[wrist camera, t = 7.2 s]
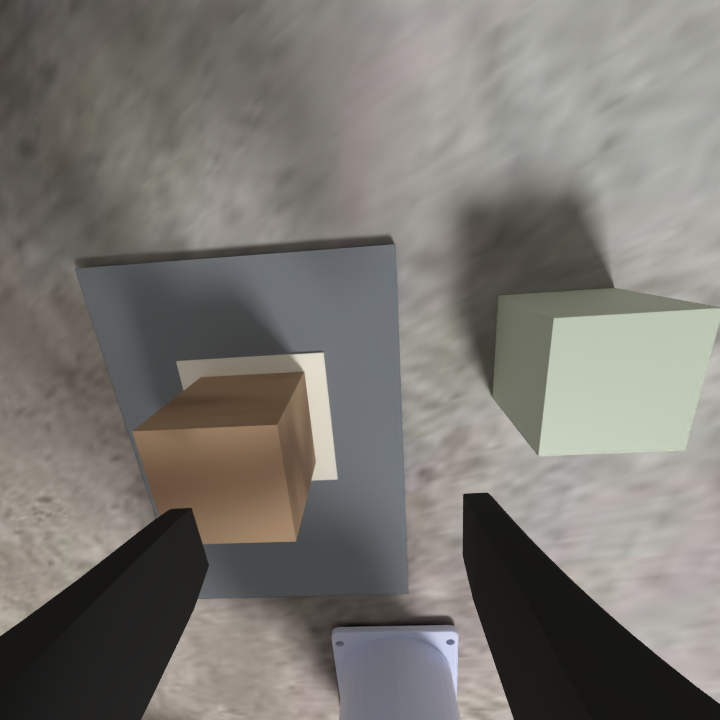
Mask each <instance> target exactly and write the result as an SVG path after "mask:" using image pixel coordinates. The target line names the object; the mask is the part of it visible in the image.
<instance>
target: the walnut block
mask: <svg viewBox="0 0 720 720" xmlns="http://www.w3.org/2000/svg"><path fill="white" fill-rule="evenodd" d="M132 432H133V436H134V439H135V442H136V445H137V448H138V451H139V455H140V458H141V461H142V464H143V467H144V470H145V474H146V477H147V480H148V483H149V486H150V489H151V492H152V496H153V499H154V502H155V505H156V508H157V511H158V515H159V516H161V515H162V514H163V513H165V512H166V511H168V510H169V509H178V508H192V510H193V514H194V517H195V520H196V524H197V527H198V530H199V534H200V537H201V540H202V543H203V544H225V543H261V542H296V540H297V536H298V532H299V528H300V524H301V520H302V516H303V512H304V508H305V504H306V500H307V496H308V492H309V488H310V484H311V480H312V476H313V472H314V468H315V464H316V459H315V451H314V443H313V435H312V428H311V420H310V412H309V404H308V396H307V388H306V380H305V372H289V373H270V374H251V375H232V376H213V377H200V378H199V379H198V380H197V381H195V382H194V383H193V384H192V385H190V386H189V387H188V388H186V389H185V390H184V391H183V392H181V393H180V394H179V395H178V396H176V397H175V398H174V399H173V400H171V401H170V402H169V403H167V404H166V405H165V406H164V407H162V408H161V409H160V410H159V411H157V412H156V413H155V414H154V415H152V416H151V417H150V418H148V419H147V420H146V421H145V422H143V423H142V424H141V425H140V426H138V427H137V428H136V429H135V430H133V431H132Z"/></svg>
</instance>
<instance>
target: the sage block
mask: <svg viewBox="0 0 720 720" xmlns="http://www.w3.org/2000/svg"><path fill="white" fill-rule="evenodd" d="M719 322H720V307H715V306H710V305H705V304H699V303H694V302H688V301H683V300H677V299H672V298H667V297H661V296H656V295H650V294H645V293H639V292H634V291H628V290H623V289H618V288H606V289H590V290H575V291H559V292H544V293H529V294H513V295H498V311H497V328H496V345H495V362H494V379H493V396H492V398H493V399H494V400H495V402H496V403H497V404H498V405H499V407H500V408H501V409H502V410H503V412H504V413H505V414H506V416H507V417H508V418H509V419H510V421H511V422H512V423H513V424H514V426H515V427H516V428H517V430H518V431H519V432H520V433H521V435H522V436H523V437H524V438H525V440H526V441H527V442H528V444H529V445H530V446H531V447H532V449H533V450H534V451H535V452H536V454H537V455H538V456H556V455H581V454H605V453H629V452H654V451H678V450H685V449H686V445H687V441H688V437H689V434H690V430H691V426H692V422H693V419H694V415H695V411H696V408H697V404H698V400H699V396H700V393H701V389H702V385H703V381H704V378H705V374H706V370H707V367H708V363H709V359H710V355H711V352H712V348H713V344H714V340H715V337H716V333H717V329H718V326H719Z"/></svg>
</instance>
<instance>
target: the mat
mask: <svg viewBox="0 0 720 720" xmlns="http://www.w3.org/2000/svg"><path fill="white" fill-rule="evenodd" d="M75 271H76V274H77V277H78V280H79V283H80V286H81V289H82V292H83V295H84V299H85V302H86V305H87V308H88V311H89V314H90V317H91V320H92V323H93V326H94V329H95V332H96V335H97V338H98V341H99V344H100V347H101V351H102V354H103V357H104V360H105V363H106V366H107V369H108V372H109V375H110V378H111V381H112V384H113V387H114V390H115V393H116V396H117V399H118V403H119V406H120V409H121V412H122V415H123V418H124V421H125V424H126V427H127V430H128V433H129V436H130V439H131V442H132V445H133V448H134V451H135V455H136V458H137V461H138V464H139V467H140V470H141V473H142V476H143V479H144V482H145V485H146V488H147V491H148V494H149V497H150V500H151V503H152V507H153V510H154V513H155V516H156V519H157V518H158V517H159V515H158V511H157V508H156V505H155V502H154V499H153V496H152V492H151V489H150V486H149V483H148V480H147V477H146V474H145V470H144V467H143V464H142V461H141V458H140V455H139V451H138V448H137V445H136V442H135V439H134V436H133V432H132V431H133V430H135V429H136V428H137V427H138V426H140V425H141V424H142V423H143V422H145V421H146V420H147V419H148V418H150V417H151V416H152V415H154V414H155V413H156V412H157V411H159V410H160V409H161V408H162V407H164V406H165V405H166V404H167V403H169V402H170V401H171V400H173V399H174V398H175V397H176V396H178V395H179V394H180V393H181V392H183V391H184V390H185V389H186V388H188V387H189V386H190V385H192V384H193V383H194V382H195V381H197V380H198V379H199V378H200V377H213V376H232V375H251V374H270V373H289V372H305V380H306V388H307V396H308V404H309V412H310V420H311V428H312V435H313V443H314V451H315V459H316V464H315V468H314V472H313V476H312V480H311V484H310V488H309V492H308V496H307V500H306V504H305V508H304V512H303V516H302V520H301V524H300V528H299V532H298V536H297V540H296V542H261V543H225V544H203V547H204V550H205V553H206V557H207V560H208V563H209V567H208V570H207V573H206V576H205V579H204V582H203V585H202V588H201V591H200V594H199V597H198V599H212V598H254V597H295V596H337V595H379V594H408V567H407V540H406V513H405V486H404V459H403V432H402V406H401V379H400V352H399V325H398V298H397V271H396V244H391V245H378V246H365V247H352V248H338V249H325V250H312V251H299V252H286V253H272V254H259V255H246V256H233V257H220V258H206V259H193V260H180V261H167V262H154V263H140V264H127V265H114V266H101V267H88V268H75Z"/></svg>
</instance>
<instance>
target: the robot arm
mask: <svg viewBox="0 0 720 720" xmlns="http://www.w3.org/2000/svg"><path fill="white" fill-rule="evenodd" d="M463 558H464V563H465V567H466V571H467V576H468V580H469V584H470V588H471V592H472V597H473V600H474V603H475V606H476V609H477V612H478V615H479V618H480V621H481V624H482V627H483V630H484V633H485V636H486V639H487V642H488V645H489V648H490V651H491V654H492V657H493V659H494V662H495V665H496V668H497V671H498V674H499V677H500V680H501V683H502V686H503V689H504V692H505V695H506V698H507V700H508V703H509V706H510V709H511V712H512V715H513V718H514V720H720V704H719V703H718V702H716V701H715V700H714V699H712V698H711V697H710V696H708V695H707V694H706V693H704V692H703V691H702V690H700V689H699V688H698V687H696V686H695V685H694V684H692V683H691V682H690V681H689V680H687V679H686V678H685V677H684V676H682V675H681V674H680V673H679V672H677V671H676V670H675V669H674V668H672V667H671V666H670V665H669V664H667V663H666V662H665V661H664V660H662V659H661V658H660V657H659V656H657V655H656V654H655V653H654V652H653V651H651V650H650V649H649V648H648V647H647V646H645V645H644V644H643V643H642V642H641V641H639V640H638V639H637V638H636V637H635V636H633V635H632V634H631V633H630V632H629V631H628V630H626V629H625V628H624V627H623V626H622V625H621V624H620V623H618V622H617V621H616V620H615V619H614V618H613V617H612V616H610V615H609V614H608V613H607V612H606V611H605V610H604V609H603V608H601V607H600V606H599V605H598V604H597V603H596V602H595V601H594V600H593V599H592V598H591V597H589V596H588V595H587V594H586V593H585V592H584V591H583V590H582V589H581V588H580V587H579V586H578V585H576V584H575V583H574V582H573V581H572V580H571V579H570V578H569V577H568V576H567V575H566V574H565V573H564V572H563V571H562V570H561V569H560V568H559V567H558V566H557V565H556V564H555V563H554V562H553V561H552V560H551V559H550V558H549V557H548V556H547V555H546V554H545V553H544V552H543V551H542V550H541V549H540V548H539V547H538V546H537V545H536V544H535V543H534V542H533V541H532V540H531V539H530V538H529V537H528V536H527V535H526V533H525V532H524V531H523V530H522V529H521V528H520V527H519V526H518V525H517V524H516V523H515V522H514V521H513V520H512V518H511V517H510V516H509V515H508V514H507V513H506V512H505V511H504V510H503V508H502V507H501V506H500V505H499V504H498V503H497V502H496V501H495V499H494V498H493V497H492V496H491V495H490V494H489V493H471V494H463ZM208 567H209V563H208V560H207V557H206V553H205V550H204V547H203V543H202V540H201V537H200V534H199V530H198V527H197V524H196V520H195V517H194V514H193V510H192V508H178V509H169V510H168V511H166V512H165V513H163V514H162V515H161V516H159V517H158V518H157V519H155V520H154V521H153V522H151V523H150V524H149V525H147V526H146V527H145V528H143V529H142V530H141V531H140V532H138V533H137V534H136V535H134V536H133V537H132V538H131V539H129V540H128V541H127V542H126V543H124V544H123V545H122V546H120V547H119V548H118V549H117V550H115V551H114V552H113V553H112V554H110V555H109V556H108V557H106V558H105V559H104V560H103V561H101V562H100V563H99V564H97V565H96V566H95V567H94V568H92V569H91V570H90V571H88V572H87V573H86V574H85V575H83V576H82V577H81V578H79V579H78V580H77V581H75V582H74V583H73V584H71V585H70V586H69V587H67V588H66V589H65V590H63V591H62V592H61V593H59V594H58V595H56V596H55V597H54V598H52V599H51V600H50V601H48V602H47V603H46V604H44V605H43V606H42V607H40V608H39V609H38V610H36V611H35V612H33V613H32V614H31V615H29V616H28V617H27V618H25V619H24V620H23V621H21V622H20V623H18V624H17V625H16V626H14V627H13V628H11V629H10V630H8V631H7V632H6V633H4V634H3V635H1V636H0V720H141V719H142V716H143V714H144V712H145V710H146V708H147V706H148V704H149V702H150V700H151V698H152V696H153V694H154V692H155V690H156V687H157V685H158V683H159V681H160V679H161V677H162V675H163V673H164V671H165V669H166V667H167V665H168V663H169V661H170V658H171V656H172V654H173V652H174V650H175V648H176V646H177V644H178V642H179V640H180V638H181V635H182V633H183V631H184V629H185V627H186V625H187V623H188V621H189V619H190V616H191V614H192V612H193V610H194V607H195V605H196V602H197V599H198V597H199V594H200V591H201V588H202V585H203V582H204V579H205V576H206V573H207V570H208ZM332 645H333V652H334V659H335V666H336V673H337V680H338V687H339V694H340V717H339V720H460V715H459V709H458V704H457V667H458V632H457V628H456V627H455V626H453V625H418V626H367V627H336V628H335V629H333V631H332Z"/></svg>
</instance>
